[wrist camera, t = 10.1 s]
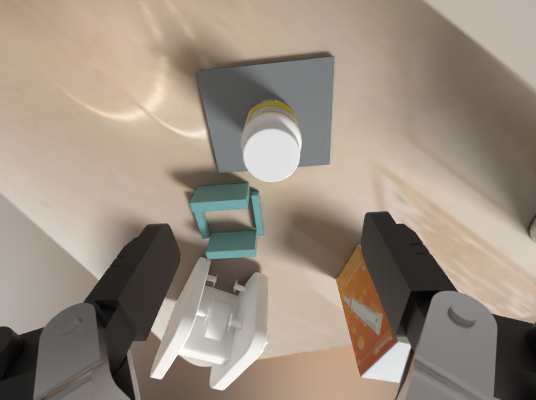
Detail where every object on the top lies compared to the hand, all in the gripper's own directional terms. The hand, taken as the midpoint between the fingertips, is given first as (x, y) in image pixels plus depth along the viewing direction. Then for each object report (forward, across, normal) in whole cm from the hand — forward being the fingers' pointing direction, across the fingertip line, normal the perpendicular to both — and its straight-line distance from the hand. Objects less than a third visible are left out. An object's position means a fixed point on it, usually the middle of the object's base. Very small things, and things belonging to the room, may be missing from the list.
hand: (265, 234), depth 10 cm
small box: (+17, -12, +22) cm, 30 cm away
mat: (+17, 0, 0) cm, 17 cm away
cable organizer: (+17, +10, +25) cm, 32 cm away
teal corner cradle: (+17, +6, +11) cm, 21 cm away
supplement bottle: (+16, 0, 0) cm, 16 cm away
